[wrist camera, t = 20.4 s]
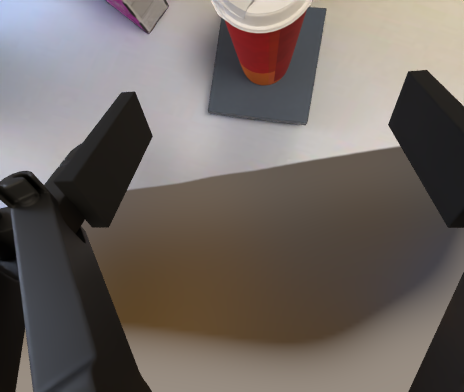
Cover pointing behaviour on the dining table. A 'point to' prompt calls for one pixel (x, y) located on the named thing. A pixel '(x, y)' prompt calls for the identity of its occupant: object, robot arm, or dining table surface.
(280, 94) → the stand
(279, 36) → the paper cup
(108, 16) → the dining table surface
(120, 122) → the robot arm
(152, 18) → the candy bar box
